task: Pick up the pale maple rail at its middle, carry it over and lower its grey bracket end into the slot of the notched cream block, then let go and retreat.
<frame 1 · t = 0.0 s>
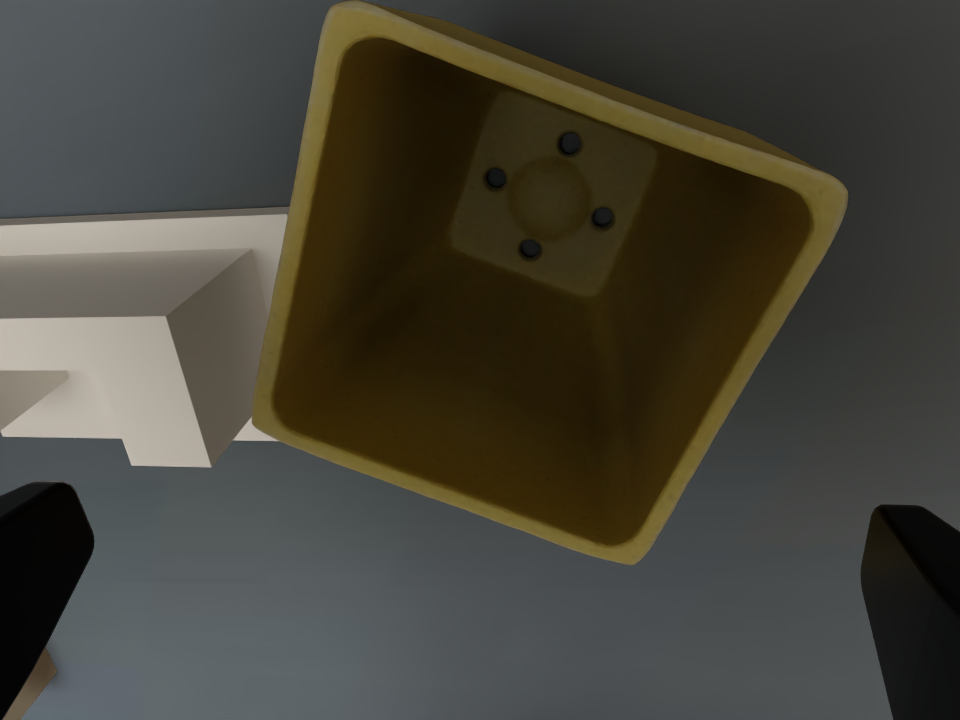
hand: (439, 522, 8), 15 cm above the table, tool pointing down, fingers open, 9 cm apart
notched cream block: (141, 328, 26), on the table
flower pot: (545, 193, 21), on the table
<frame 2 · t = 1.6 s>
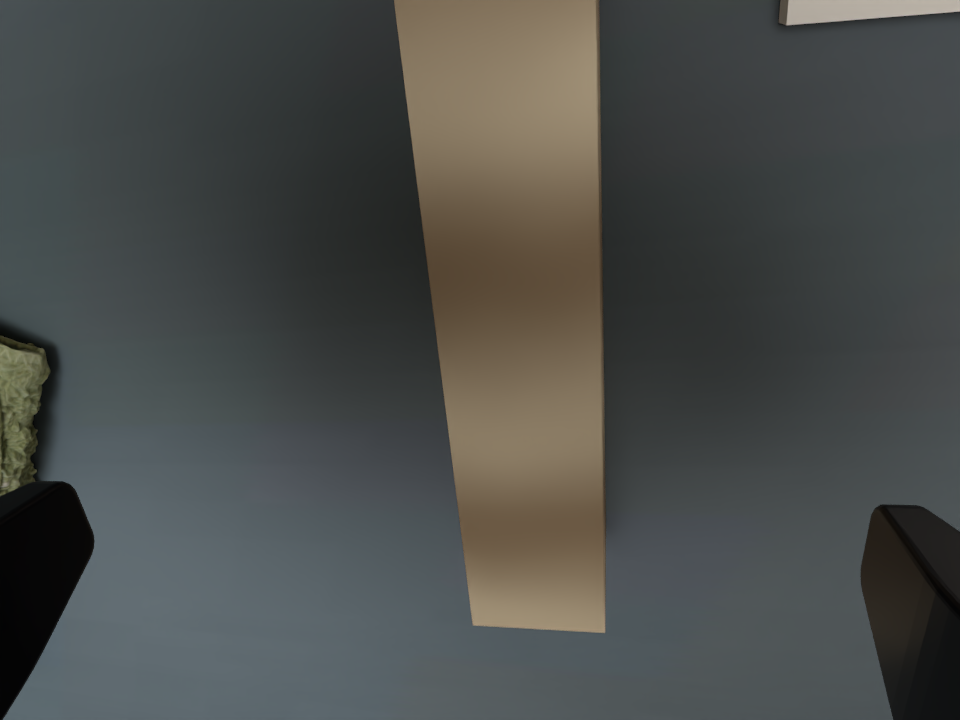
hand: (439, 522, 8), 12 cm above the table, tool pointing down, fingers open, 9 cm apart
rail: (530, 215, 19), on the table
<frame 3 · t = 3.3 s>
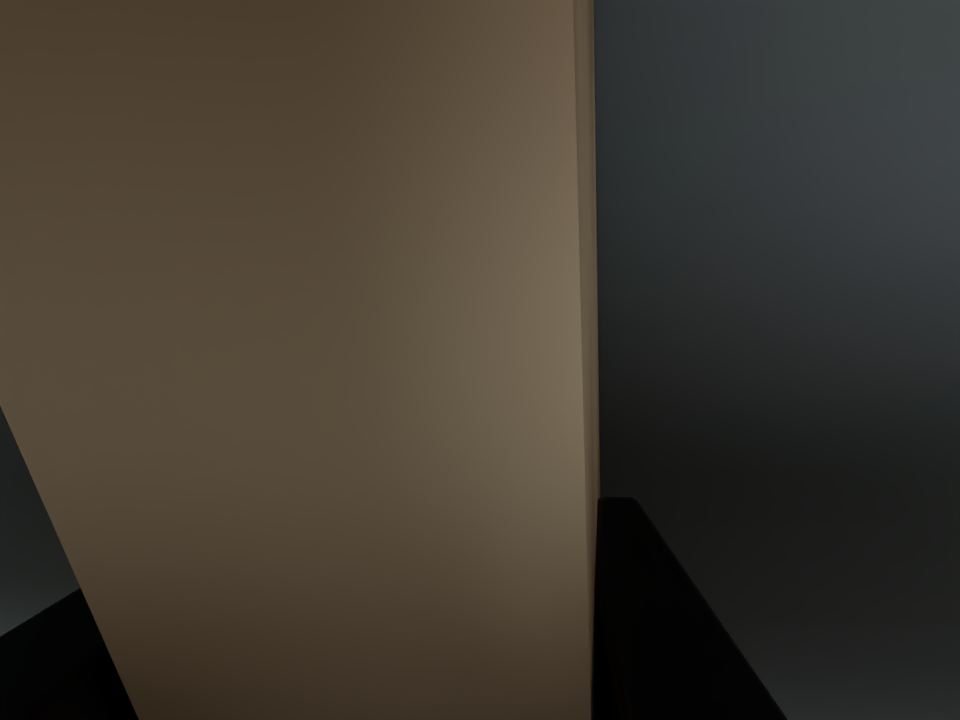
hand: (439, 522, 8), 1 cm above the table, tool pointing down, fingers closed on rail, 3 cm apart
rail: (456, 468, 9), on the table, touching gripper
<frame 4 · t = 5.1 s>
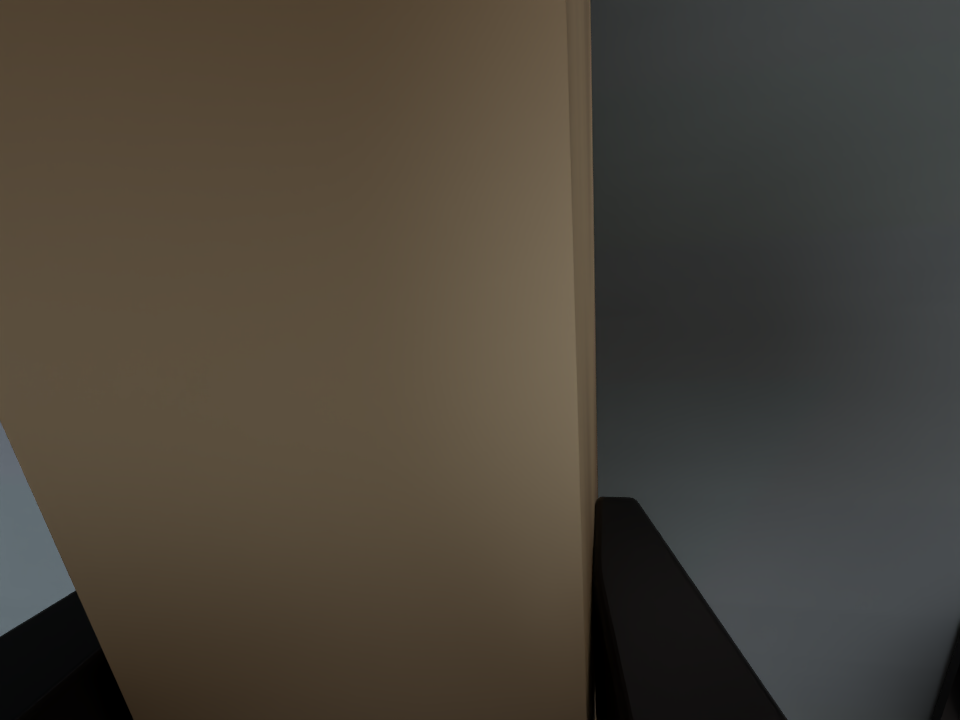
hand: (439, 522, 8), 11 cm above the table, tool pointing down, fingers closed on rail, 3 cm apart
rail: (453, 465, 9), point 10 cm above the table, touching gripper
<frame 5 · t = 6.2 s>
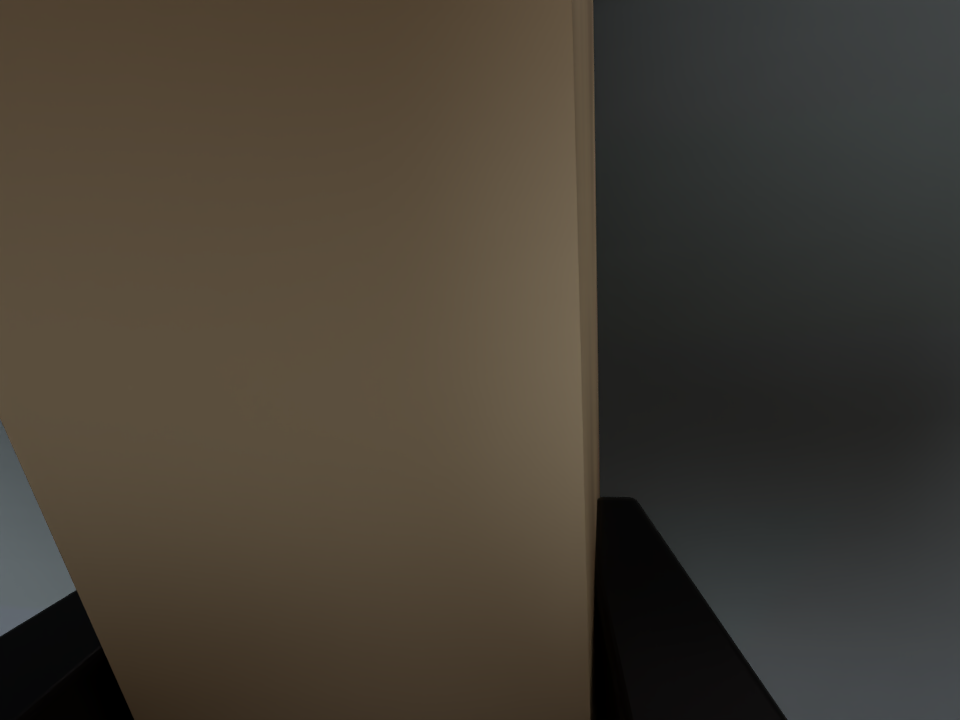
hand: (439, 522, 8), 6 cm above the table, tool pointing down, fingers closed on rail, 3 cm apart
rail: (455, 466, 9), point 5 cm above the table, touching gripper
when the fingers open (3 cm above the table, at t = 6.9 s): rail drops 2 cm, resting on notched cream block.
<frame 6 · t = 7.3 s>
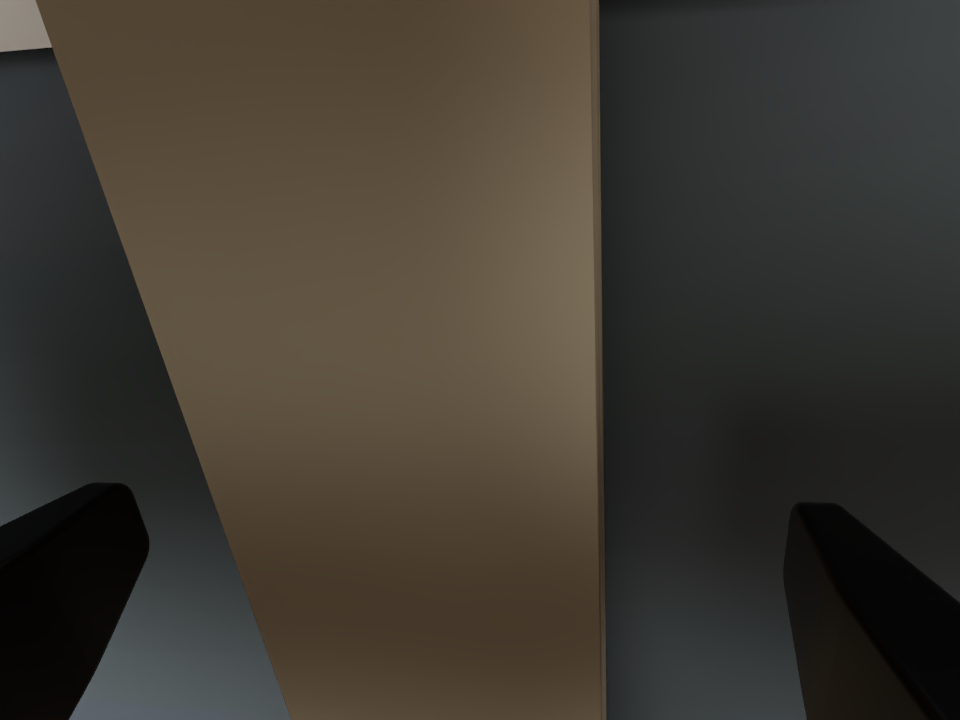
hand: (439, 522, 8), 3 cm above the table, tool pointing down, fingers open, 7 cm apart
rail: (479, 394, 11), point 1 cm above the table, touching notched cream block
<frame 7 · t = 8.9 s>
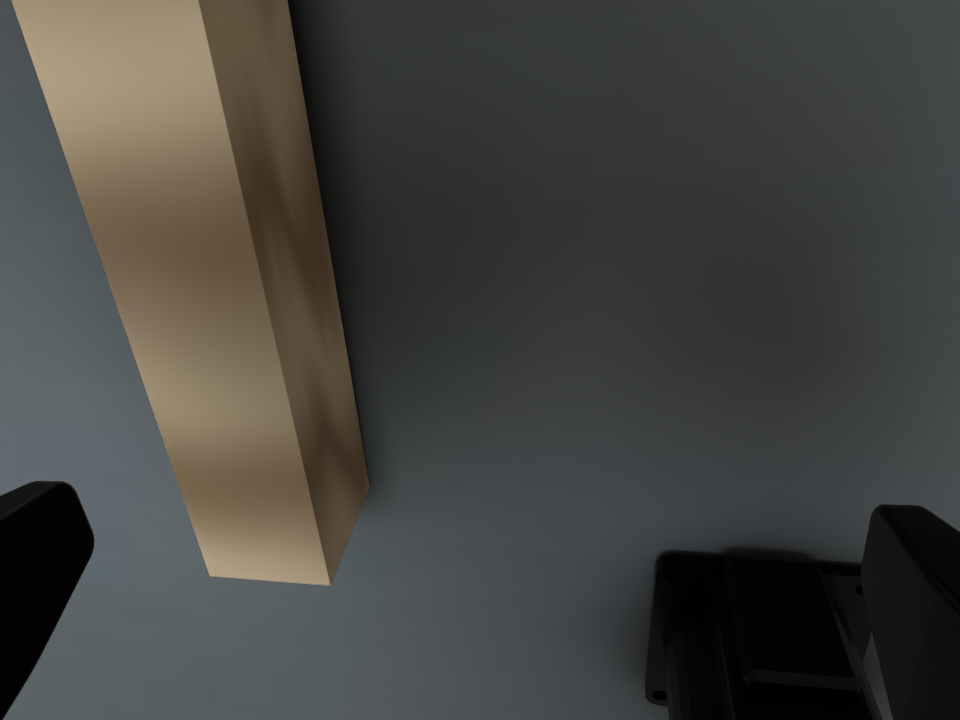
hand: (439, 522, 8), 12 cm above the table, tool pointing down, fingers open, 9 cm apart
rail: (250, 178, 19), point 1 cm above the table, touching notched cream block
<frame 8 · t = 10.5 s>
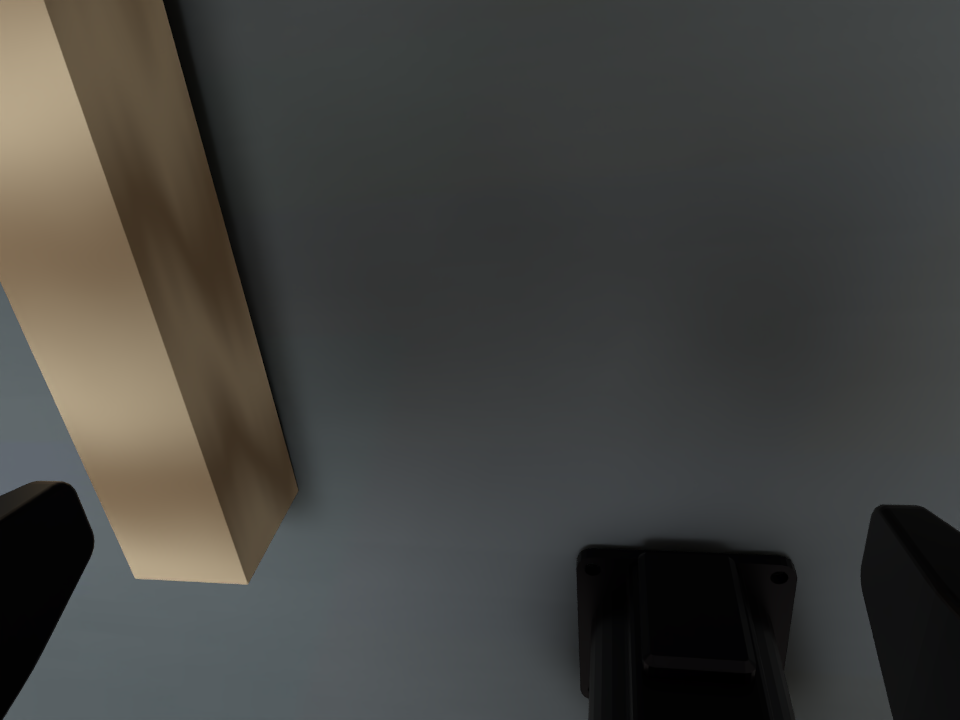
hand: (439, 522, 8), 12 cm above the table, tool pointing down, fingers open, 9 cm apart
rail: (154, 195, 20), point 1 cm above the table, touching notched cream block
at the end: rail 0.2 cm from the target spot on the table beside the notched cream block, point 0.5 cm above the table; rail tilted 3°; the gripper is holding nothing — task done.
